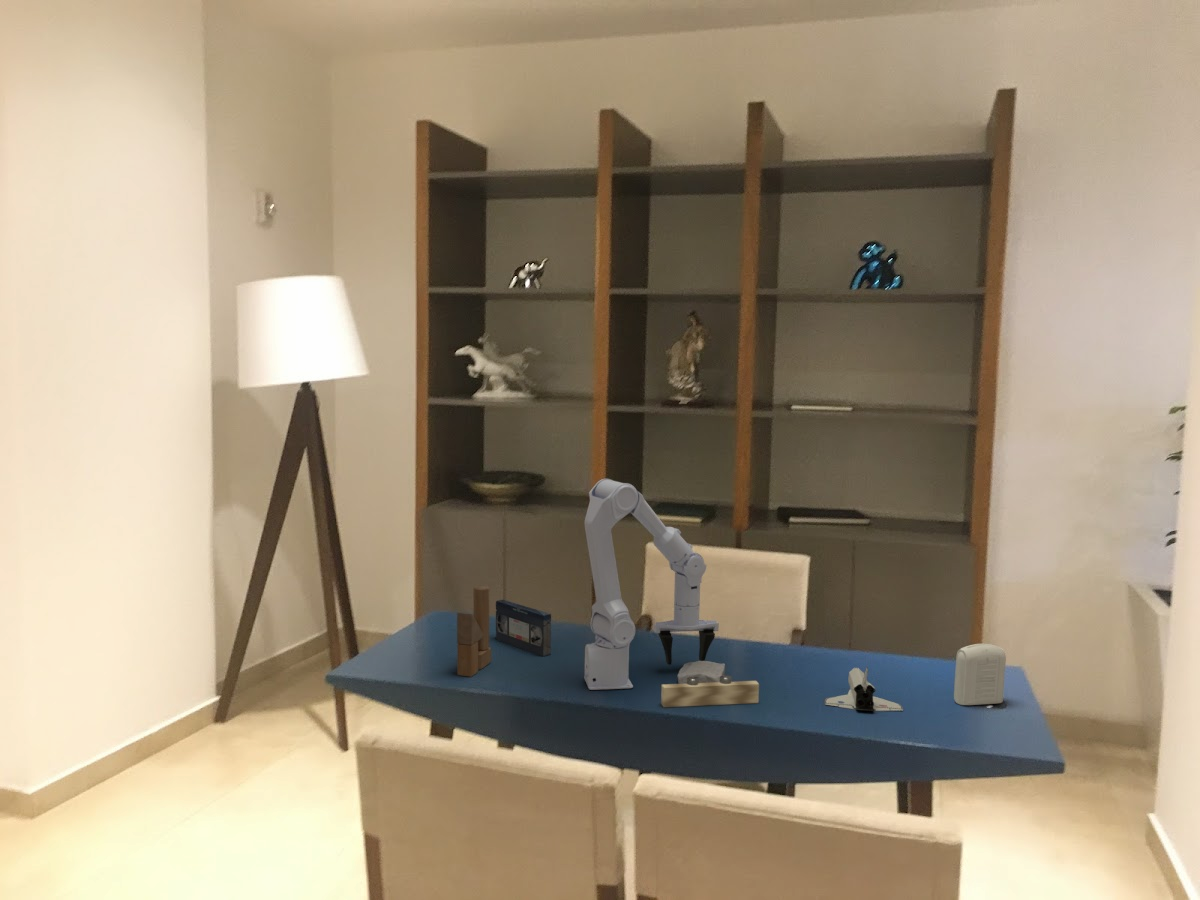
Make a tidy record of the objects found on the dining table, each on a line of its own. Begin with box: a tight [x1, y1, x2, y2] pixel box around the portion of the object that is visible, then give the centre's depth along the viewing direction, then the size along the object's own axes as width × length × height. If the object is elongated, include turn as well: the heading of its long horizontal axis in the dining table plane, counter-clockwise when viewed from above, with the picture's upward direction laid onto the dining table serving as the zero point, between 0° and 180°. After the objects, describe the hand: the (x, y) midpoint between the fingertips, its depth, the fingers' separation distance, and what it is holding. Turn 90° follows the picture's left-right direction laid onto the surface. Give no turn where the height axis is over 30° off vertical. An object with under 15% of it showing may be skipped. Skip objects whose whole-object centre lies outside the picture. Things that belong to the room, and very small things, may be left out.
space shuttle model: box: [823, 666, 904, 712], centre depth 201 cm, size 16×25×10 cm, turn 170°
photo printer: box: [953, 643, 1007, 706], centre depth 196 cm, size 10×4×12 cm, turn 103°
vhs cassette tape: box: [495, 599, 552, 657], centre depth 229 cm, size 18×3×10 cm, turn 43°
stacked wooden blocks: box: [456, 585, 492, 677], centre depth 211 cm, size 4×11×18 cm, turn 163°
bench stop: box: [660, 674, 760, 708], centre depth 194 cm, size 20×3×5 cm, turn 99°
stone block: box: [677, 660, 726, 684], centre depth 206 cm, size 12×5×10 cm
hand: (685, 662), depth 213 cm, fingers open, 7 cm apart
